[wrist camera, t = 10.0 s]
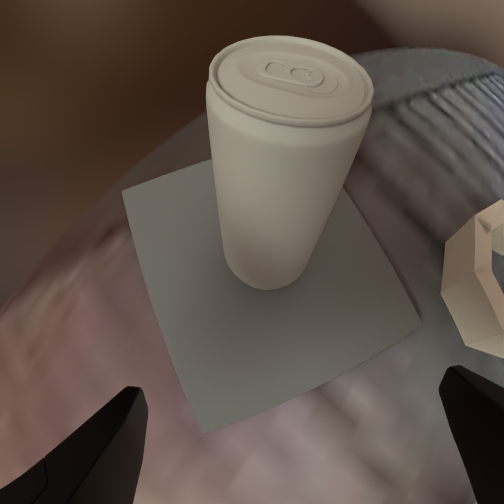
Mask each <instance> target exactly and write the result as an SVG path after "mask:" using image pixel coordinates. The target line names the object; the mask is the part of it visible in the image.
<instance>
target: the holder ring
mask: <svg viewBox="0 0 504 504" xmlns="http://www.w3.org/2000/svg"><path fill="white" fill-rule="evenodd" d="M492 250H493V251H495V252H496V253H498V254H500V255H502V256H503V257H504V201H503V200H502V199H501V200H499V201H498V202H496V203H494V204H493V205H491V206H489V207H488V208H486V209H484V210H482V211H481V212H479V213H477V214H476V215H474V216H473V217H472V218H471V219H470V220H469V221H468V222H467V223H465V224H464V225H463V226H462V227H461V228H460V229H459V230H458V231H457V232H456V233H455V234H454V235H453V236H452V237H450V238H449V239H448V240H447V241H446V242H445V253H444V265H443V275H442V283H441V291H440V294H441V296H442V298H443V300H444V302H445V304H446V306H447V308H448V310H449V312H450V314H451V316H452V318H453V320H454V322H455V324H456V326H457V328H458V330H459V333H460V335H461V337H462V339H463V341H464V344H465V346H468V347H471V348H474V349H477V350H480V351H482V352H485V353H488V354H491V355H494V356H497V357H500V358H504V294H503V292H502V290H501V288H500V286H499V284H498V282H497V280H496V278H495V276H494V274H493V272H492Z"/></svg>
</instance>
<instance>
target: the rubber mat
mask: <svg viewBox="0 0 504 504" xmlns="http://www.w3.org/2000/svg"><path fill="white" fill-rule="evenodd" d="M122 195H123V199H124V204H125V208H126V212H127V217H128V221H129V225H130V229H131V233H132V237H133V241H134V244H135V248H136V252H137V255H138V259H139V263H140V266H141V270H142V273H143V277H144V280H145V283H146V287H147V290H148V293H149V296H150V300H151V303H152V306H153V309H154V312H155V315H156V318H157V321H158V324H159V327H160V330H161V333H162V336H163V338H164V341H165V344H166V347H167V350H168V352H169V355H170V358H171V361H172V363H173V366H174V368H175V371H176V374H177V376H178V379H179V381H180V384H181V386H182V389H183V391H184V394H185V396H186V399H187V401H188V403H189V406H190V408H191V410H192V413H193V415H194V417H195V420H196V422H197V424H198V426H199V429H200V431H201V433H202V434H205V433H208V432H210V431H213V430H216V429H219V428H222V427H225V426H227V425H230V424H233V423H235V422H238V421H240V420H243V419H246V418H248V417H251V416H253V415H256V414H258V413H260V412H263V411H265V410H268V409H270V408H272V407H275V406H277V405H279V404H281V403H284V402H286V401H288V400H290V399H292V398H295V397H297V396H299V395H301V394H303V393H305V392H307V391H309V390H311V389H313V388H316V387H318V386H320V385H322V384H324V383H326V382H327V381H329V380H331V379H333V378H335V377H337V376H339V375H341V374H343V373H345V372H347V371H348V370H350V369H352V368H354V367H356V366H357V365H359V364H361V363H363V362H365V361H366V360H368V359H370V358H372V357H373V356H375V355H377V354H378V353H380V352H382V351H383V350H385V349H387V348H388V347H390V346H392V345H393V344H395V343H396V342H398V341H400V340H401V339H403V338H404V337H406V336H407V335H409V334H411V333H412V332H414V331H415V330H417V329H418V328H420V327H421V326H423V323H422V321H421V319H420V317H419V315H418V313H417V311H416V309H415V307H414V305H413V304H412V302H411V300H410V298H409V296H408V294H407V292H406V290H405V288H404V287H403V285H402V283H401V281H400V279H399V278H398V276H397V274H396V272H395V270H394V269H393V267H392V265H391V263H390V262H389V260H388V258H387V256H386V255H385V253H384V251H383V250H382V248H381V246H380V244H379V243H378V241H377V239H376V238H375V236H374V235H373V233H372V231H371V230H370V228H369V226H368V225H367V223H366V222H365V220H364V218H363V217H362V215H361V214H360V212H359V211H358V209H357V207H356V206H355V204H354V203H353V201H352V200H351V198H350V197H349V195H348V194H347V192H346V191H345V189H344V188H343V186H342V188H341V191H340V193H339V195H338V198H337V200H336V202H335V204H334V207H333V209H332V211H331V213H330V216H329V218H328V220H327V222H326V224H325V227H324V229H323V231H322V233H321V235H320V238H319V240H318V242H317V244H316V246H315V248H314V250H313V253H312V255H311V257H310V259H309V261H308V263H307V265H306V267H305V269H304V271H303V272H302V274H301V275H300V276H299V277H298V279H296V280H295V281H293V282H292V283H291V284H289V285H287V286H284V287H282V288H279V289H272V290H263V289H257V288H253V287H251V286H250V285H248V284H246V283H244V282H243V281H242V280H240V279H239V278H238V277H237V276H236V275H235V274H234V273H233V271H232V270H231V269H230V267H229V266H228V264H227V261H226V258H225V256H224V249H223V242H222V235H221V228H220V221H219V213H218V205H217V197H216V188H215V180H214V171H213V162H212V159H210V160H207V161H204V162H201V163H198V164H195V165H192V166H189V167H186V168H183V169H180V170H177V171H175V172H172V173H169V174H166V175H163V176H161V177H158V178H155V179H152V180H150V181H147V182H144V183H142V184H139V185H136V186H134V187H131V188H129V189H126V190H124V191H122Z"/></svg>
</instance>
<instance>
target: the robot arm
mask: <svg viewBox="0 0 504 504" xmlns="http://www.w3.org/2000/svg"><path fill="white" fill-rule="evenodd" d="M439 394H440V397H441V400H442V403H443V406H444V410H445V413H446V416H447V419H448V423H449V426H450V429H451V432H452V435H453V437H454V440H455V442H456V445H457V447H458V450H459V452H460V455H461V458H462V460H463V463H464V466H465V468H466V471H467V474H468V477H469V480H470V483H471V485H472V488H473V491H474V494H475V498H476V501H477V504H504V388H503V387H501V386H499V385H497V384H495V383H493V382H491V381H489V380H488V379H486V378H484V377H482V376H480V375H478V374H476V373H474V372H472V371H470V370H468V369H466V368H464V367H463V366H461V365H456V366H451V367H449V368H448V369H447V370H446V372H445V375H444V377H443V379H442V381H441V384H440V386H439ZM147 419H148V406H147V403H146V400H145V396H144V393H143V390H142V389H141V388H140V387H133V386H127V387H125V388H124V389H123V390H122V391H120V392H119V393H118V394H117V395H116V396H115V397H114V398H112V399H111V400H110V401H109V402H108V403H107V404H106V405H104V406H103V407H102V408H101V409H100V410H99V411H97V412H96V413H95V414H94V415H93V416H92V417H91V418H89V419H88V420H87V421H86V422H85V423H84V424H82V425H81V426H80V427H79V428H78V429H77V430H75V431H74V432H73V433H72V434H71V435H70V436H68V437H67V438H66V439H65V440H64V441H63V442H61V443H60V444H59V445H58V446H57V447H55V448H54V449H53V450H52V451H51V452H50V453H48V454H47V455H46V456H45V458H42V459H41V460H40V461H39V462H38V463H36V464H35V465H34V466H33V467H31V468H30V469H29V470H28V471H26V472H25V473H24V474H22V475H21V476H20V477H18V478H17V479H15V480H14V481H12V482H11V483H9V484H8V485H6V486H5V487H3V488H1V489H0V504H133V501H134V496H135V492H136V487H137V483H138V478H139V474H140V470H141V466H142V461H143V453H144V444H145V436H146V427H147Z"/></svg>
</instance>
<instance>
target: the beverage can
mask: <svg viewBox="0 0 504 504" xmlns="http://www.w3.org/2000/svg"><path fill="white" fill-rule="evenodd" d="M209 68H210V69H209V81H208V82H207V87H206V105H207V115H208V125H209V135H210V144H211V153H212V162H213V171H214V180H215V188H216V197H217V205H218V213H219V221H220V228H221V235H222V242H223V249H224V256H225V258H226V261H227V264H228V266H229V267H230V269H231V270H232V271H233V273H234V274H235V275H236V276H237V277H238V278H239V279H240V280H242V281H243V282H244V283H246V284H248V285H250V286H251V287H253V288H257V289H263V290H272V289H279V288H282V287H284V286H287V285H289V284H291V283H292V282H293V281H295V280H296V279H298V277H299V276H300V275H301V274H302V272H303V271H304V269H305V267H306V265H307V263H308V261H309V259H310V257H311V255H312V253H313V250H314V248H315V246H316V244H317V242H318V240H319V238H320V235H321V233H322V231H323V229H324V227H325V224H326V222H327V220H328V218H329V216H330V213H331V211H332V209H333V207H334V204H335V202H336V200H337V198H338V195H339V193H340V191H341V188H342V186H343V184H344V181H345V179H346V177H347V174H348V172H349V170H350V167H351V165H352V163H353V160H354V158H355V155H356V153H357V151H358V148H359V146H360V143H361V141H362V138H363V136H364V133H365V131H366V128H367V125H368V122H369V119H370V116H371V113H372V108H371V101H372V98H373V95H374V89H373V84H372V80H371V79H370V77H369V75H368V74H367V72H366V71H365V69H364V68H363V67H361V66H360V65H359V64H358V63H357V62H356V61H355V60H354V59H352V58H351V57H349V56H348V55H346V54H345V53H343V52H341V51H339V50H337V49H335V48H333V47H330V46H328V45H326V44H323V43H319V42H316V41H313V40H309V39H304V38H298V37H291V36H264V37H254V38H250V39H246V40H243V41H239V42H236V43H234V44H232V45H230V46H228V47H226V48H224V49H223V50H222V51H221V52H220V53H218V54H217V55H216V56H215V57H214V59H213V61H212V63H211V65H210V67H209Z"/></svg>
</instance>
